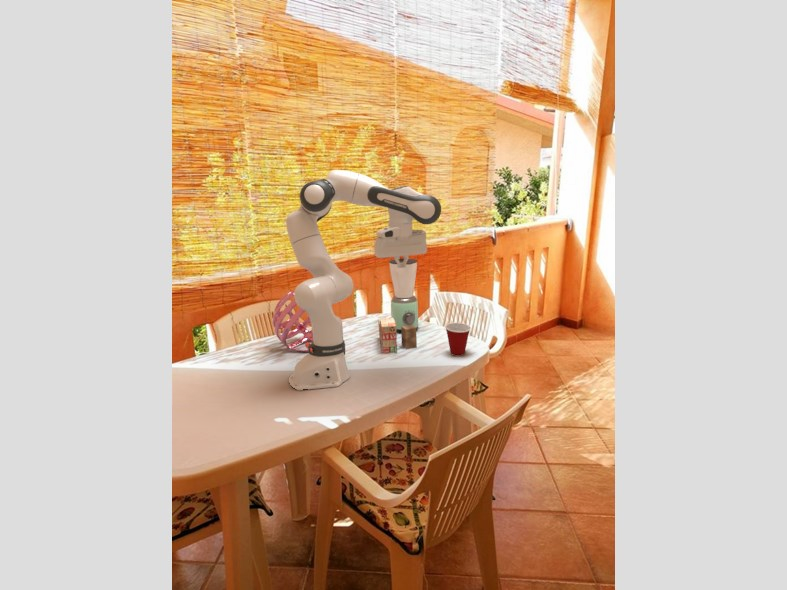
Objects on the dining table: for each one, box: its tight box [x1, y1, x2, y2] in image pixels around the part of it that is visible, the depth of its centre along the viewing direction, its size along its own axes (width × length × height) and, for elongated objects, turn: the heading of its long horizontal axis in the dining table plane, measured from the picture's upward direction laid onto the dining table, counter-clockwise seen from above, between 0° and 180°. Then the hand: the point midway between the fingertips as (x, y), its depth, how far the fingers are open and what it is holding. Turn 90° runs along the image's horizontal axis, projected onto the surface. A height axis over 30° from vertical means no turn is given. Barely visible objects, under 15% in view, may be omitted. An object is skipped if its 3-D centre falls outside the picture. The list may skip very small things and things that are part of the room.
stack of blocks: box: [377, 317, 398, 354], centre depth 216 cm, size 21×6×12 cm, turn 6°
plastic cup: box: [444, 322, 472, 356], centre depth 203 cm, size 11×11×12 cm
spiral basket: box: [272, 290, 313, 353], centre depth 215 cm, size 28×28×27 cm
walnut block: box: [401, 325, 418, 350], centre depth 214 cm, size 5×5×9 cm
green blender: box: [388, 258, 419, 334], centre depth 236 cm, size 19×13×35 cm
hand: (401, 267), depth 185 cm, fingers closed
